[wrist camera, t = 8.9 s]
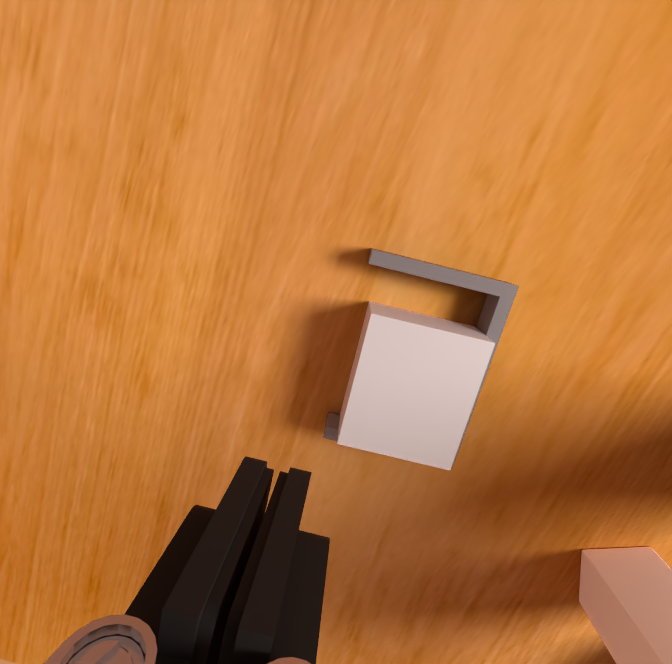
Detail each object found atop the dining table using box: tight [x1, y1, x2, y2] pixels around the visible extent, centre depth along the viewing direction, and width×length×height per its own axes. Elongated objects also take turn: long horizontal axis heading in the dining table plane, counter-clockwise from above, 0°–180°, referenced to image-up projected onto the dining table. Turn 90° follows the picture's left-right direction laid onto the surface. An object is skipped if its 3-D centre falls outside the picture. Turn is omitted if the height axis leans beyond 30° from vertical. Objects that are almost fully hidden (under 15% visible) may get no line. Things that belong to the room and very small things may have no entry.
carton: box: [337, 301, 495, 470], centre depth 29 cm, size 8×10×5 cm
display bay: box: [324, 248, 519, 469], centre depth 30 cm, size 10×15×2 cm
